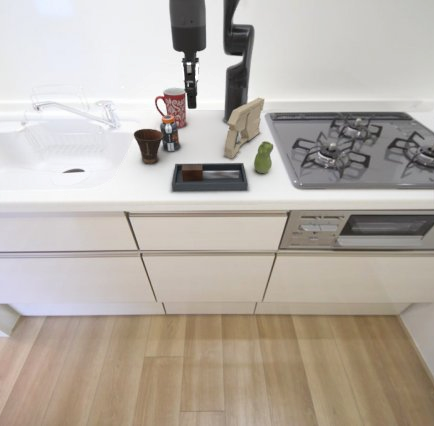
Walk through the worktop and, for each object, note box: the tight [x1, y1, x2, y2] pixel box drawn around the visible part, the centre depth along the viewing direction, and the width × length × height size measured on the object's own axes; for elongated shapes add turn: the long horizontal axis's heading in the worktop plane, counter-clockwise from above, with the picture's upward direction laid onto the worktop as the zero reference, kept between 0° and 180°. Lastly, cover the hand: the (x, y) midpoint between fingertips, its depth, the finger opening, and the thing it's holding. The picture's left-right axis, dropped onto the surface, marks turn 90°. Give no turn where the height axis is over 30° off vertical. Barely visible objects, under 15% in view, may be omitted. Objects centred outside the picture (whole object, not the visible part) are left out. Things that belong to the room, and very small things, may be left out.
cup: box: [133, 128, 163, 164], centre depth 78 cm, size 9×9×10 cm
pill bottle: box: [159, 114, 180, 152], centre depth 83 cm, size 6×6×11 cm
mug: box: [154, 86, 187, 129], centre depth 97 cm, size 13×9×14 cm
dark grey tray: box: [171, 162, 249, 192], centre depth 72 cm, size 22×11×3 cm, turn 91°
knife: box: [182, 165, 239, 181], centre depth 71 cm, size 17×3×4 cm, turn 91°
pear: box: [253, 140, 274, 174], centre depth 72 cm, size 6×5×10 cm
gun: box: [223, 97, 265, 159], centre depth 84 cm, size 24×3×15 cm, turn 148°
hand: (192, 101), depth 62 cm, fingers open, 8 cm apart
